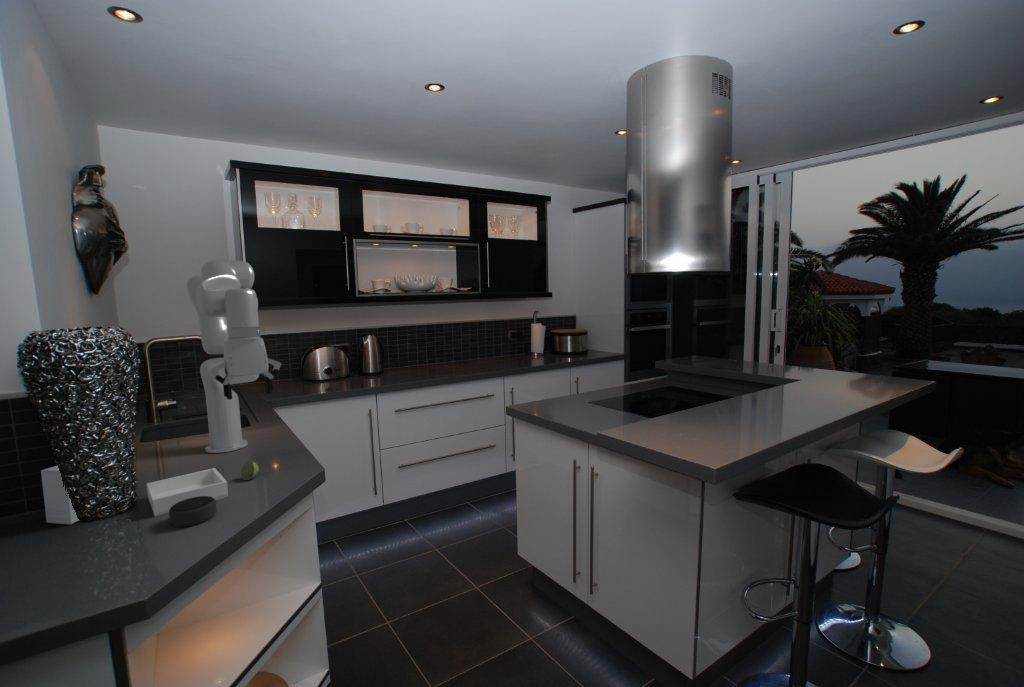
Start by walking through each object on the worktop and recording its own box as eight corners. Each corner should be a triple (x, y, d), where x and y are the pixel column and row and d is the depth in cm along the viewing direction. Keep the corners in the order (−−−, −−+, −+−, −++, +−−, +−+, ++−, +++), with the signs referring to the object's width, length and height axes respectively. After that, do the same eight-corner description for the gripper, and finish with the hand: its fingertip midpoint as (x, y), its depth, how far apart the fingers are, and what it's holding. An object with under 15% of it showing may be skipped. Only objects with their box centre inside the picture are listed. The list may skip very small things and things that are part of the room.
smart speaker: (199, 528, 101) (198, 510, 101) (160, 529, 101) (158, 511, 101) (225, 510, 110) (224, 494, 110) (189, 511, 110) (187, 495, 110)
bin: (148, 498, 119) (146, 483, 118) (216, 481, 129) (214, 467, 128) (154, 516, 108) (152, 500, 107) (228, 496, 118) (226, 481, 117)
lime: (257, 480, 129) (255, 463, 128) (238, 482, 128) (236, 464, 127) (262, 474, 133) (260, 457, 133) (243, 476, 132) (242, 459, 132)
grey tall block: (70, 525, 105) (64, 471, 104) (45, 523, 106) (39, 469, 105) (105, 510, 112) (99, 460, 111) (81, 509, 113) (75, 459, 112)
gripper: (274, 332, 134) (278, 390, 136) (203, 336, 123) (209, 399, 124) (282, 332, 129) (287, 392, 130) (209, 336, 117) (215, 402, 118)
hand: (249, 396), depth 127 cm, fingers open, 9 cm apart
